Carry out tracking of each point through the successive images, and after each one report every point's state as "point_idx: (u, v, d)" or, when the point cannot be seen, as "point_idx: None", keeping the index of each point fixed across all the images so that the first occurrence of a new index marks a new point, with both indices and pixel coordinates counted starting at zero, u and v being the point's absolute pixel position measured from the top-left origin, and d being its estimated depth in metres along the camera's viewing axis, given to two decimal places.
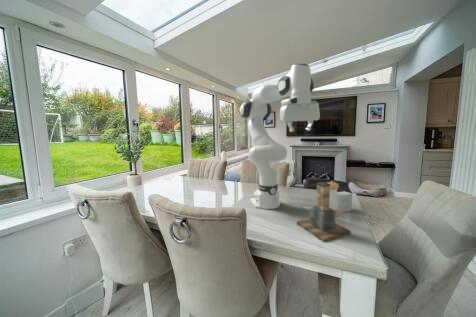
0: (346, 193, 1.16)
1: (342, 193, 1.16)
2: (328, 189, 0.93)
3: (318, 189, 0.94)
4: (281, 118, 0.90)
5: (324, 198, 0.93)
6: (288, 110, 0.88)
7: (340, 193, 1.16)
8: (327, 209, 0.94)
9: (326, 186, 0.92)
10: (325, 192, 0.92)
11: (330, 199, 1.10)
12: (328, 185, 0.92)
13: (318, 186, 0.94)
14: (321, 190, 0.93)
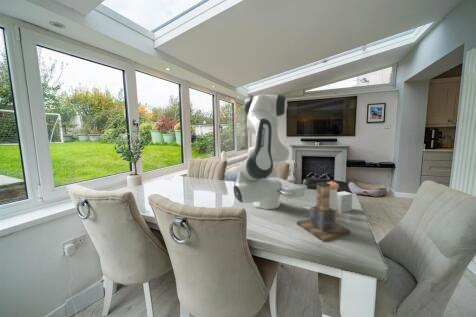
0: (346, 193, 1.16)
1: (342, 193, 1.16)
2: (328, 189, 0.93)
3: (318, 189, 0.94)
4: None
5: (324, 198, 0.93)
6: None
7: (340, 193, 1.16)
8: (327, 209, 0.94)
9: (326, 186, 0.92)
10: (325, 192, 0.92)
11: (330, 199, 1.10)
12: (328, 185, 0.92)
13: (318, 186, 0.94)
14: (321, 190, 0.93)
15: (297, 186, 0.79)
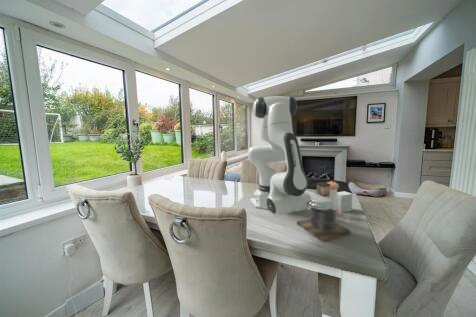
0: (346, 193, 1.16)
1: (342, 193, 1.16)
2: (328, 189, 0.93)
3: (318, 189, 0.94)
4: None
5: None
6: None
7: (340, 193, 1.16)
8: (327, 209, 0.94)
9: (326, 186, 0.92)
10: (325, 192, 0.92)
11: None
12: (328, 185, 0.92)
13: (318, 186, 0.94)
14: (321, 190, 0.93)
15: (326, 199, 0.86)
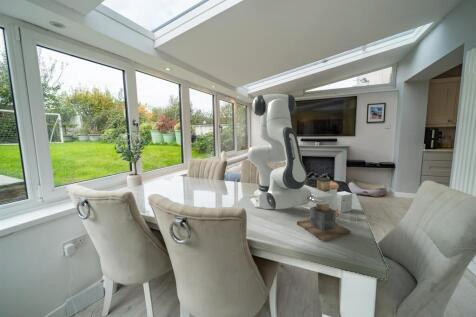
0: (346, 193, 1.16)
1: (342, 193, 1.16)
2: (328, 184, 0.92)
3: (318, 184, 0.94)
4: None
5: None
6: None
7: (340, 193, 1.16)
8: (327, 204, 0.94)
9: (326, 181, 0.92)
10: (325, 187, 0.92)
11: None
12: (328, 180, 0.92)
13: (318, 181, 0.94)
14: (321, 185, 0.92)
15: (326, 193, 0.85)
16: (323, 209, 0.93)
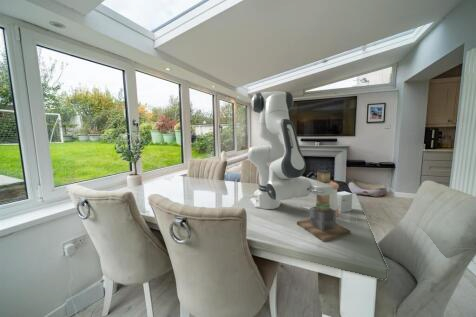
0: (346, 193, 1.16)
1: (342, 193, 1.16)
2: (328, 176, 0.92)
3: (318, 176, 0.93)
4: None
5: None
6: None
7: (340, 193, 1.16)
8: (327, 196, 0.93)
9: (326, 173, 0.91)
10: (325, 179, 0.91)
11: (330, 199, 1.10)
12: (328, 172, 0.92)
13: (318, 173, 0.93)
14: (321, 177, 0.92)
15: (326, 184, 0.85)
16: (323, 201, 0.93)
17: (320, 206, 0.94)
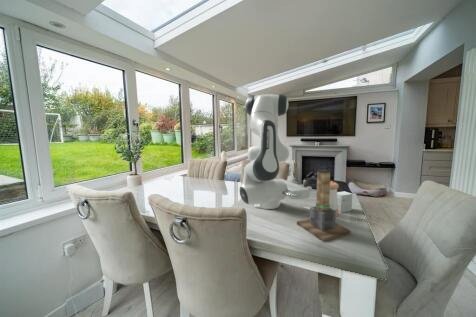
0: (346, 193, 1.16)
1: (342, 193, 1.16)
2: (328, 176, 0.92)
3: (318, 176, 0.93)
4: None
5: (324, 185, 0.92)
6: None
7: (340, 193, 1.16)
8: (327, 196, 0.93)
9: (326, 173, 0.91)
10: (325, 179, 0.91)
11: (330, 199, 1.10)
12: (328, 172, 0.92)
13: (318, 173, 0.93)
14: (321, 177, 0.92)
15: (302, 188, 0.80)
16: (323, 201, 0.93)
17: (320, 206, 0.94)
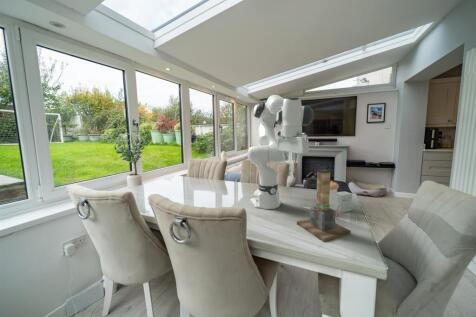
0: (346, 193, 1.16)
1: (342, 193, 1.16)
2: (328, 176, 0.92)
3: (318, 176, 0.93)
4: None
5: (324, 185, 0.92)
6: (279, 141, 1.01)
7: (340, 193, 1.16)
8: (327, 196, 0.93)
9: (326, 173, 0.91)
10: (325, 179, 0.91)
11: (330, 199, 1.10)
12: (328, 172, 0.92)
13: (318, 173, 0.93)
14: (321, 177, 0.92)
15: None
16: (323, 201, 0.93)
17: (320, 206, 0.94)
